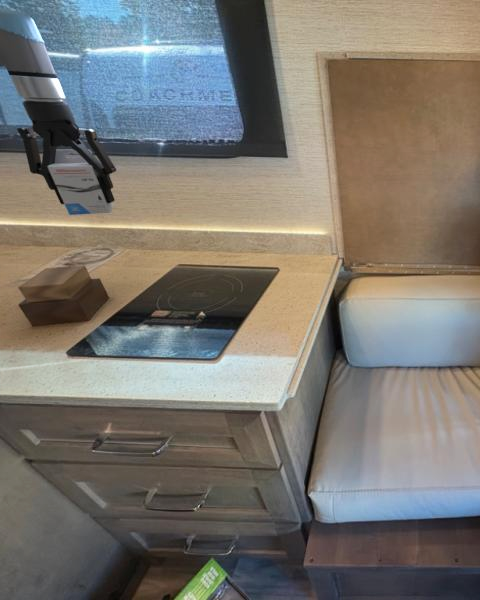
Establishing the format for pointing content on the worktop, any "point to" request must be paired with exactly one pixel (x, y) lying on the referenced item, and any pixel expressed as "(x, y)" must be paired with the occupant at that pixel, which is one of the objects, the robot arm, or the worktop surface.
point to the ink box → (78, 184)
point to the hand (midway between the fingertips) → (88, 202)
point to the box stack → (62, 296)
